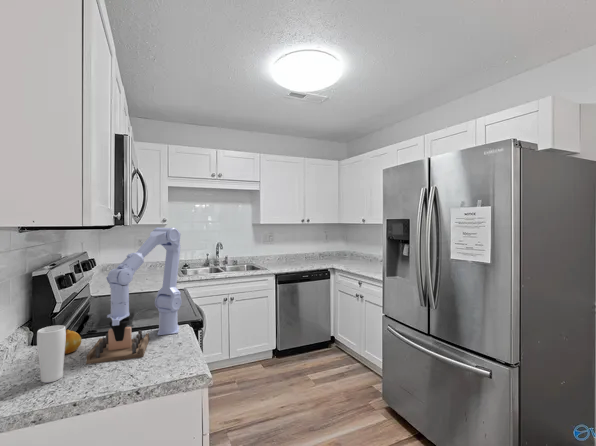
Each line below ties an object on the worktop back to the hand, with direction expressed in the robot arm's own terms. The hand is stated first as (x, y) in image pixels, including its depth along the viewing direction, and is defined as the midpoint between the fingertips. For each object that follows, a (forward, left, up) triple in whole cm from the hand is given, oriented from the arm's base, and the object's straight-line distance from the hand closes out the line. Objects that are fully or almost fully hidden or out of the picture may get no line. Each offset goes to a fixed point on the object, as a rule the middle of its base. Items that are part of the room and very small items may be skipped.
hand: (120, 339), depth 114 cm
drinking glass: (+16, -15, -4) cm, 22 cm away
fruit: (-6, -18, -4) cm, 20 cm away
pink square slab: (0, 0, -3) cm, 3 cm away
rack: (0, 0, -4) cm, 4 cm away
